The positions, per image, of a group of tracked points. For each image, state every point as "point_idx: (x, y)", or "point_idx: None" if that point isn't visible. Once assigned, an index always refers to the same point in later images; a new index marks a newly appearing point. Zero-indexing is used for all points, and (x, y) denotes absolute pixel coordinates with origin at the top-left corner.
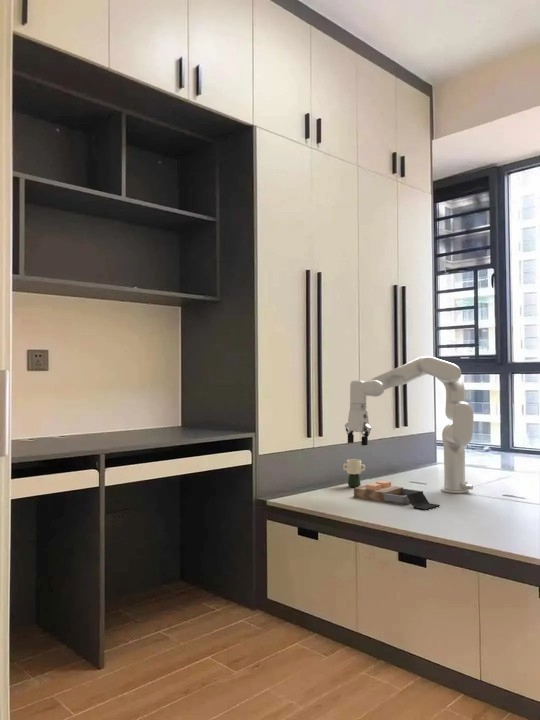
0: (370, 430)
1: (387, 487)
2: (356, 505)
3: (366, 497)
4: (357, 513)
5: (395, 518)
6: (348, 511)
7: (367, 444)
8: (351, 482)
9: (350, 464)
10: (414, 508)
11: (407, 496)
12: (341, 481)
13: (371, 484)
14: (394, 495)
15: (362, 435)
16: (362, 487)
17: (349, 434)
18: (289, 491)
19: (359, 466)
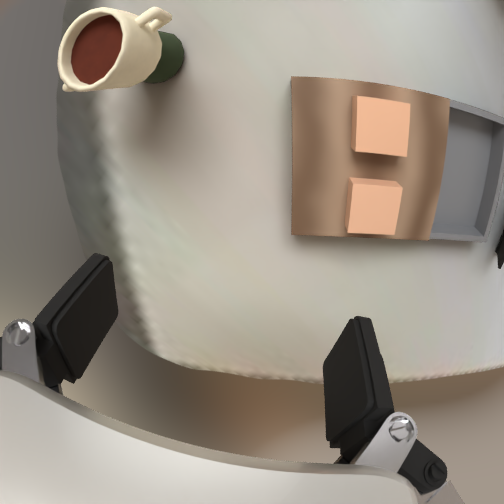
0: (455, 492)
1: None
2: (362, 307)
3: None
4: (393, 354)
5: (466, 339)
6: None
7: (370, 319)
8: (155, 80)
9: (106, 88)
10: (497, 252)
11: (498, 267)
12: None
13: (367, 215)
14: (460, 240)
15: (340, 457)
16: (314, 203)
17: (63, 371)
18: None
19: (144, 42)
